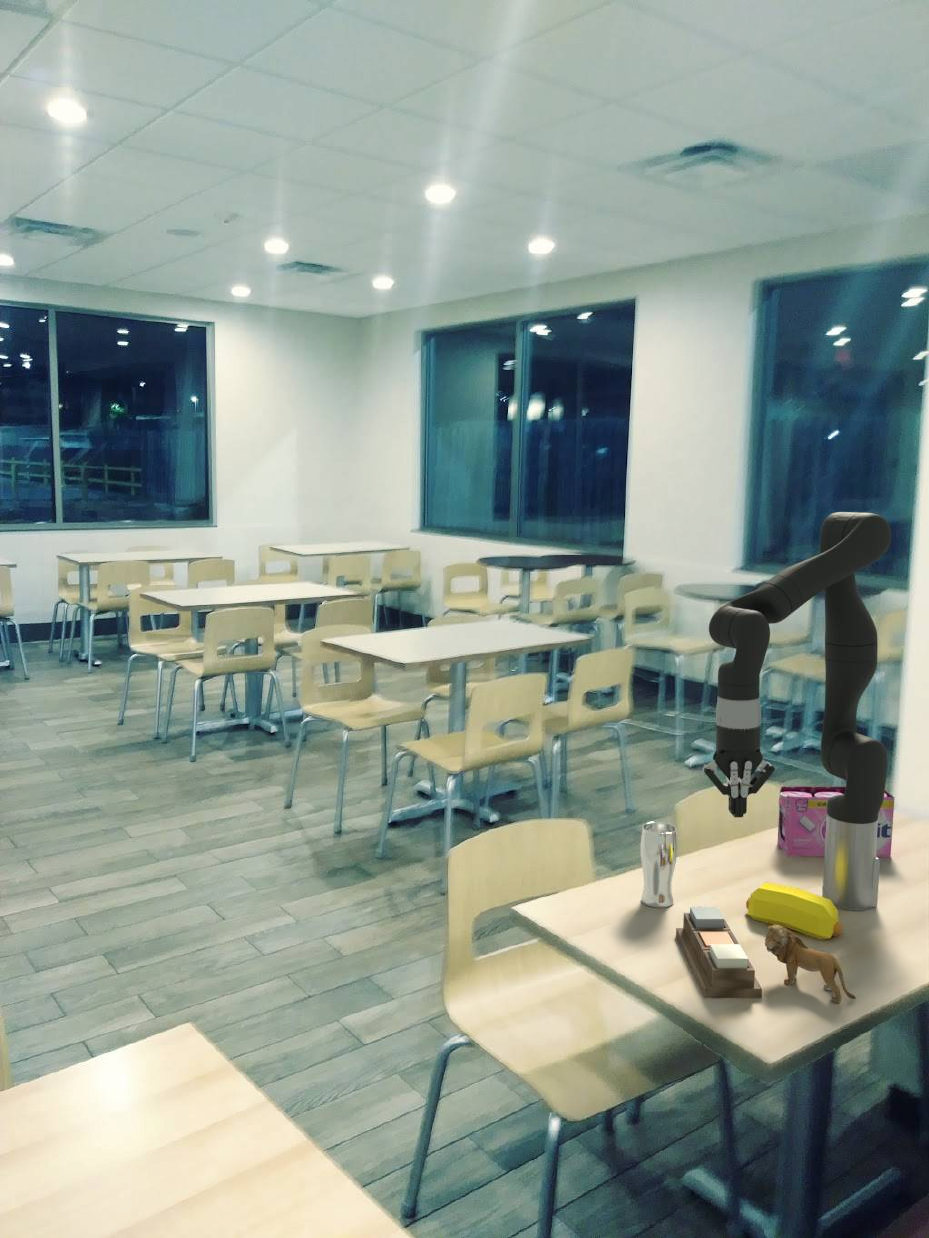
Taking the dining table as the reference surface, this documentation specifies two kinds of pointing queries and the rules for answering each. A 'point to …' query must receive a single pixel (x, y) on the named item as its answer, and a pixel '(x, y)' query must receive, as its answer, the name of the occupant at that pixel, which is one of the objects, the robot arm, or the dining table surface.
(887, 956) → the dining table surface
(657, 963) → the dining table surface
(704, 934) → the terracotta button
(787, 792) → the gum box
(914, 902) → the dining table surface
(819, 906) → the ripe banana
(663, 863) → the beer glass
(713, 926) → the slate button
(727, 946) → the ivory button
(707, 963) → the button board
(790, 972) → the lion figurine
